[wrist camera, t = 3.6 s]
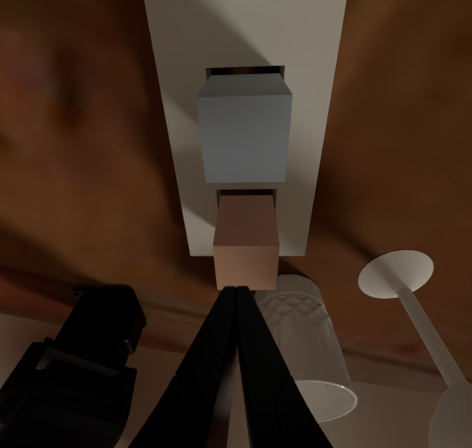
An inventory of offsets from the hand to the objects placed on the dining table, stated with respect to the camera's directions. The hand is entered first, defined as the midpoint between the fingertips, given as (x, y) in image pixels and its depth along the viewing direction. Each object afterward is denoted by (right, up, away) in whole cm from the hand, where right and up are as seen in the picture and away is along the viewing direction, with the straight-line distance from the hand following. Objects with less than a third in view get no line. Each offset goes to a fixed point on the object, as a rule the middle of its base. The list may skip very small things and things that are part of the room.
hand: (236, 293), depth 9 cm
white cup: (+5, -5, +19) cm, 20 cm away
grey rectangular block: (0, +9, +5) cm, 10 cm away
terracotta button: (+1, +3, +9) cm, 10 cm away
